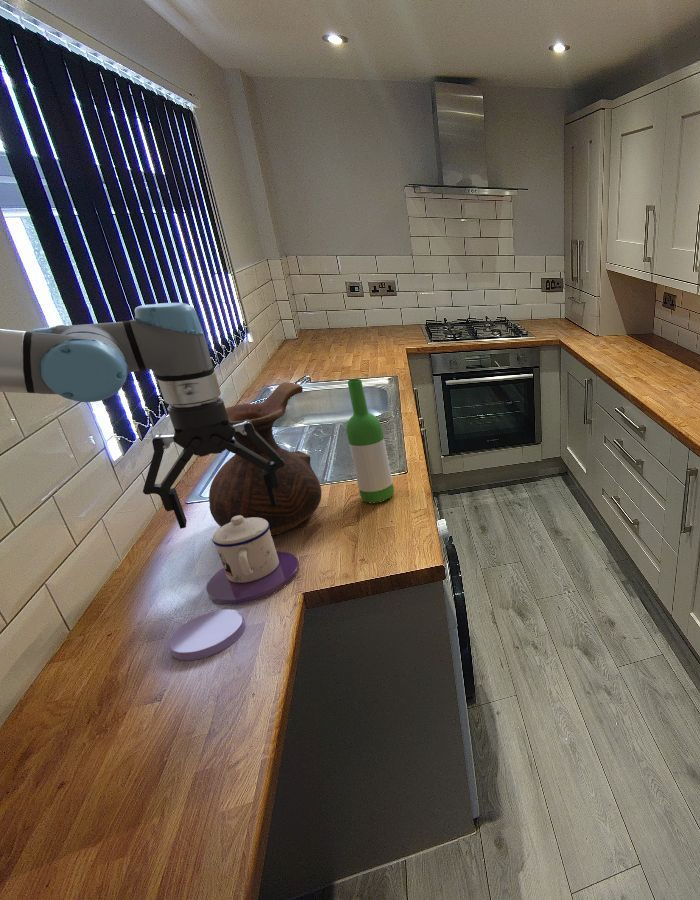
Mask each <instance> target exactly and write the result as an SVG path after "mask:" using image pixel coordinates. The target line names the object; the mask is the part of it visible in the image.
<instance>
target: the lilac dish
mask: <svg viewBox="0 0 700 900" xmlns="http://www.w3.org/2000/svg"><path fill="white" fill-rule="evenodd" d="M245 629H246V622H245V619H244V616H243V614H242V613H241V612H240V611H238V610H236V609H230V608H229V609H228V608H227V609H226V608H223V609H217V610H212V611H209V612H205V613H202V614H200V615H198V616H196V617H194V618H192V619H189V620H187V621H186V622H185V623H184V624H182V625H180V626H179V627H178V628H177V629H176V630H175V631H174V632H173V633H172V634H171V636H170V638H169V639H168V648H169V650H170V652H171V654H172V656H173V658H175V659H177V660H180V661H196V660H201V659H204V658H207V657H208V658H209V657H210V656H213V655H215V654H218V653H220V652H222V651H224V650H226V649H227V648H229V647H230V646H231V645H233V644H234V643H235V642H237V640H239V639H240V638H241V636H242V635H243V633H244V631H245Z"/></svg>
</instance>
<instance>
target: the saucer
mask: <svg viewBox="0 0 700 900" xmlns="http://www.w3.org/2000/svg"><path fill="white" fill-rule="evenodd" d="M276 552H277V556H278V559H279V564H278V566H277V568H276V569H275V570H274V571H273V572H271V573H270V574H268V575H267V576H265V577H263V578H260V579H258V580H255V581H251V582H245V583H236V582H232V581H230V580H229V579H228V578H227V576H226V573H225V570H224V567H222V568H221V569H219V571H217V572H216V573H214V574H213V575H212V576H211V578H210V579H209V581H208V582H207V584H206V593H207V595H208V598H209V599H210V600H211V601H212V602H214V603H215V604H219V605H226V606H230V605H231V606H233V605H241V604H247V603H251V602H255V600H256V601H258V600H262V599H264V598H267V597H269V596H271V595H273V594H275V593H277V592H279V591H281V590H282V589H284V588H285V587H286V586H288V585H289V584H290V583H291V582H292V581H293V580H294V579H295V578H296V577H297V576H296V574H297V573H298V574H299V572H300V568H299V567H300V563H299V559H298V558H297V556H296V555H294V554H293V553H291V552H287V551H281V550H280V551H277V550H276ZM298 571H299V572H298ZM298 574H297V575H298ZM295 576H296V577H295ZM294 577H295V578H294ZM293 578H294V579H293ZM292 579H293V580H292ZM291 580H292V581H291ZM290 581H291V582H290ZM289 582H290V583H289ZM288 583H289V584H288ZM287 584H288V585H287ZM285 585H286V586H285ZM284 586H285V587H284ZM283 587H284V588H283ZM281 588H282V589H281ZM280 589H281V590H280ZM278 590H279V591H278ZM276 591H277V592H276ZM274 592H275V593H274ZM272 593H273V594H272ZM268 595H269V596H268ZM266 596H267V597H266ZM261 598H262V599H261Z"/></svg>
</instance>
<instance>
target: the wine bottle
mask: <svg viewBox="0 0 700 900" xmlns="http://www.w3.org/2000/svg"><path fill="white" fill-rule="evenodd" d="M347 387H348V392H349V395H350V402H351V406H352V411H353V415H352V416H351V417H350V418H349V419H348V421H347V423H346V428H345V431H346V436H347V441H348V445H349V450H350V456H351V458H352V464H353V468H354V473H355V477H356V482H357V487H358V492H359V495H360V498H361V500H362V501H363V502H364V501H365V502H364V503H367V502H371V503H370V504H374V503H373V502H380V501H383V500H386V499H388V498H390V497H391V496H392V495H393V496H394V492H395V489H394V483H393V477H392V472H391V467H390V461H389V457H388V452H387V447H386V446H387V445H386V440H385V436H384V432H383V431H384V430H383V426H382V423H381V421H380V419H379V418H378V417H377V416H375V415H374V414H372V413H370V412H369V410H368V406H367V401H366V396H365V391H364V387H363V382H362V379H361V378H351V379H348V380H347ZM393 496H392V497H393ZM392 497H391V498H392ZM391 498H390V499H391ZM388 500H389V499H388ZM386 501H387V500H386ZM380 503H381V502H380Z"/></svg>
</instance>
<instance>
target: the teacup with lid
mask: <svg viewBox="0 0 700 900" xmlns="http://www.w3.org/2000/svg"><path fill="white" fill-rule="evenodd" d="M269 528H270V524H269V523H268V522H267V521H266V520H265V519H263V518H258V517H251V518H244V517H243V516H241V515H238V516H235V517H233V518H232V519H231V522H230V523H228V524H226V525H224V526H222V527H221V526H219V528H218V529H216V531H214V533H213V535H212V539H211V542H212V543H213V544H214V545H215V547H216V550H217V553H218V557H219V559H220V561H221V564H222V568H224V570H225V573H226V576H227V578H228V579H229V580H230V581H232V582H236V583H245V582H251V581H255V580H258V579H260V578H263V577H265V576H267V575H268V574H270V573H271V572H273V571H274V570H275V569H276V568H277V566H278V564H279V559H278V556H277V552H276V551H277V549H276V546H275V543H274V539H273V536H271V533H270V529H269Z"/></svg>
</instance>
